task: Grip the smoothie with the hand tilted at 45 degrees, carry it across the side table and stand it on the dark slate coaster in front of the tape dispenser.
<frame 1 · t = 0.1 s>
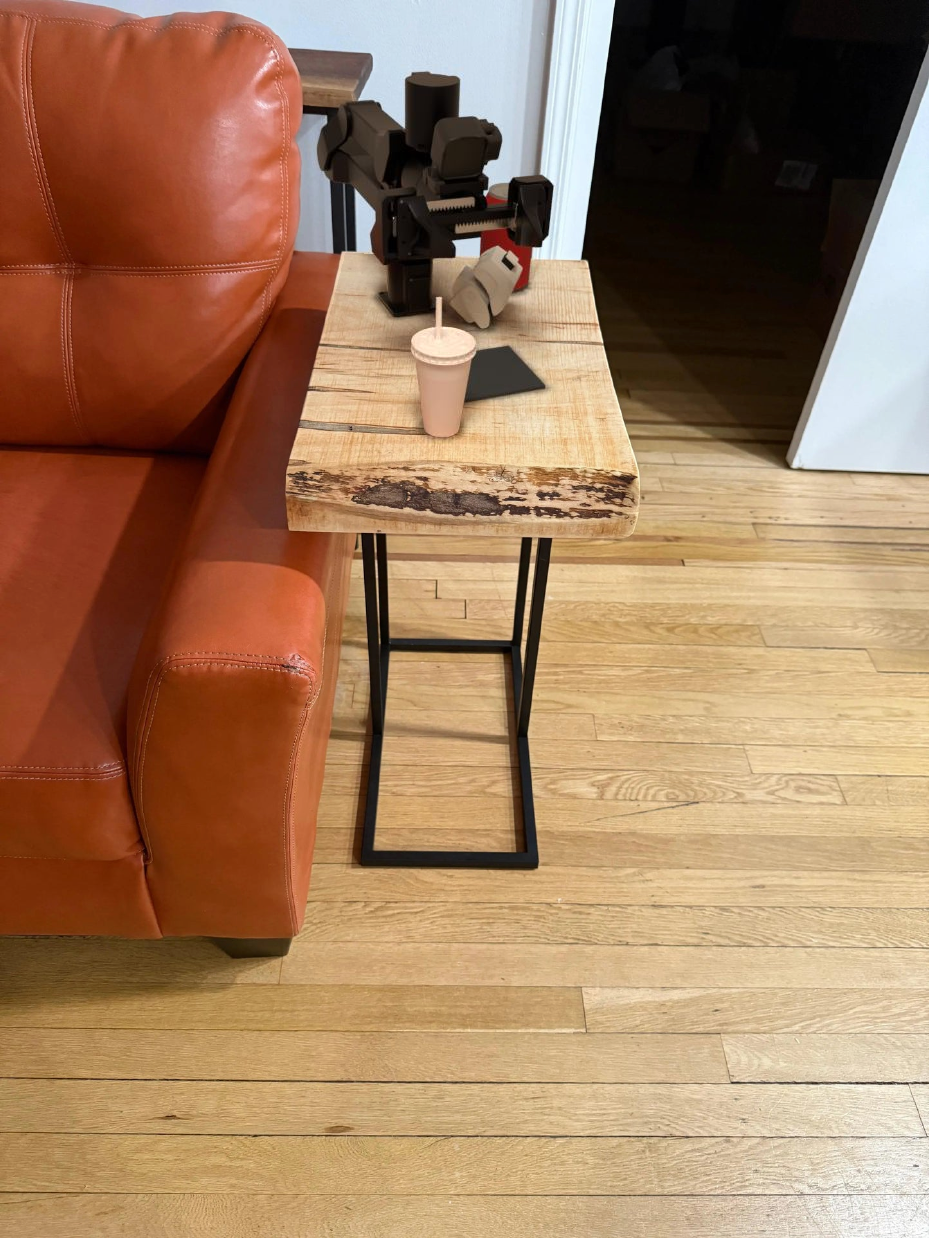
hand: (498, 247, 89), 17 cm above the table, tool horizontal, fingers open, 9 cm apart
beverage can: (503, 285, 123), on the table
smoothie: (441, 429, 96), on the table
coaster: (486, 374, 104), on the table
tape dispenser: (483, 320, 115), on the table
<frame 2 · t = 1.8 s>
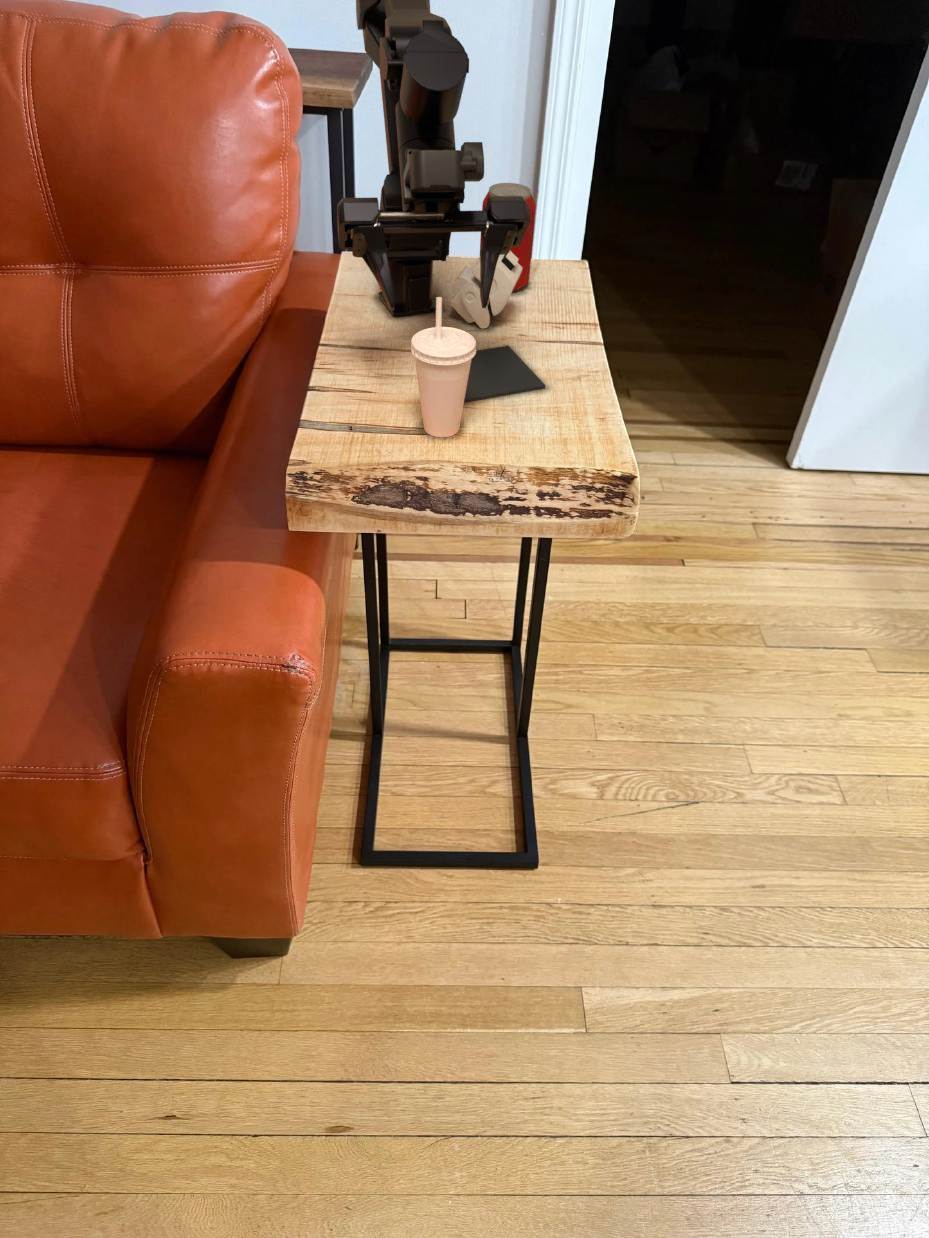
hand: (438, 307, 91), 11 cm above the table, tool tilted 45°, fingers open, 9 cm apart
nothing on the table moved.
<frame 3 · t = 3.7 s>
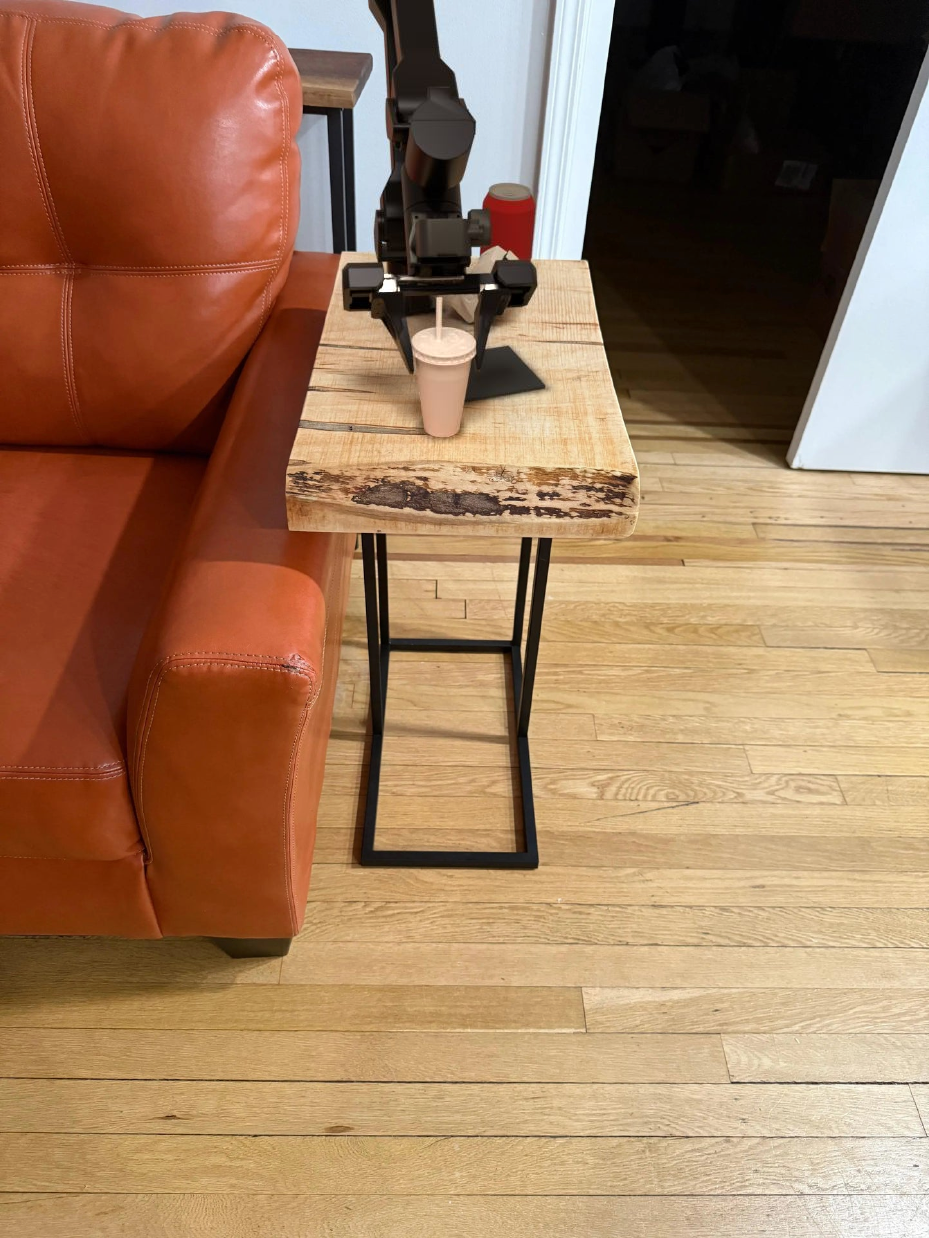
hand: (444, 372, 90), 7 cm above the table, tool tilted 45°, fingers closed on smoothie, 6 cm apart
smoothie: (441, 429, 96), on the table, touching gripper
everything else where it was.
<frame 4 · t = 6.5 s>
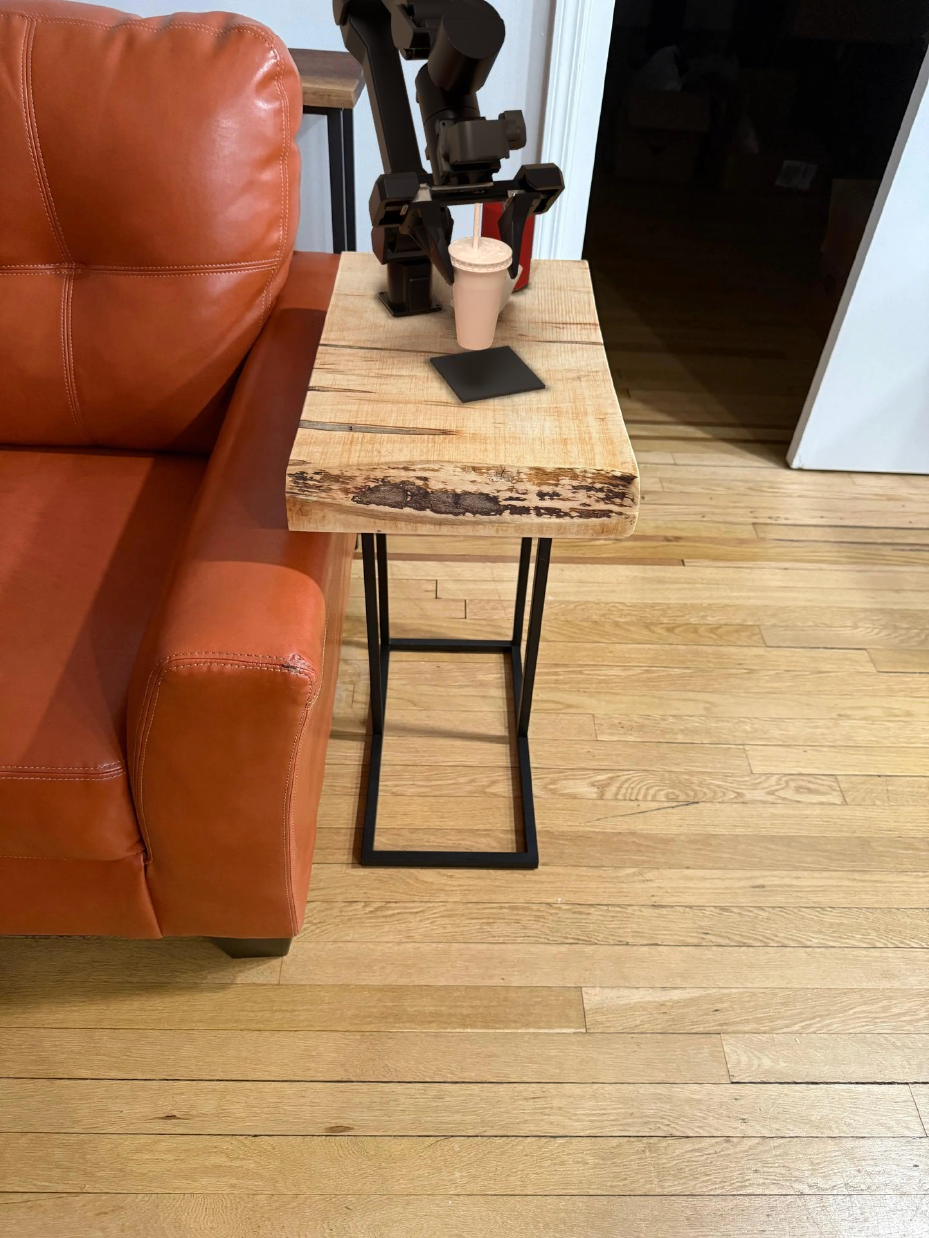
hand: (483, 281, 90), 14 cm above the table, tool tilted 45°, fingers closed on smoothie, 6 cm apart
smoothie: (474, 343, 96), point 6 cm above the table, touching gripper
everything else where it was.
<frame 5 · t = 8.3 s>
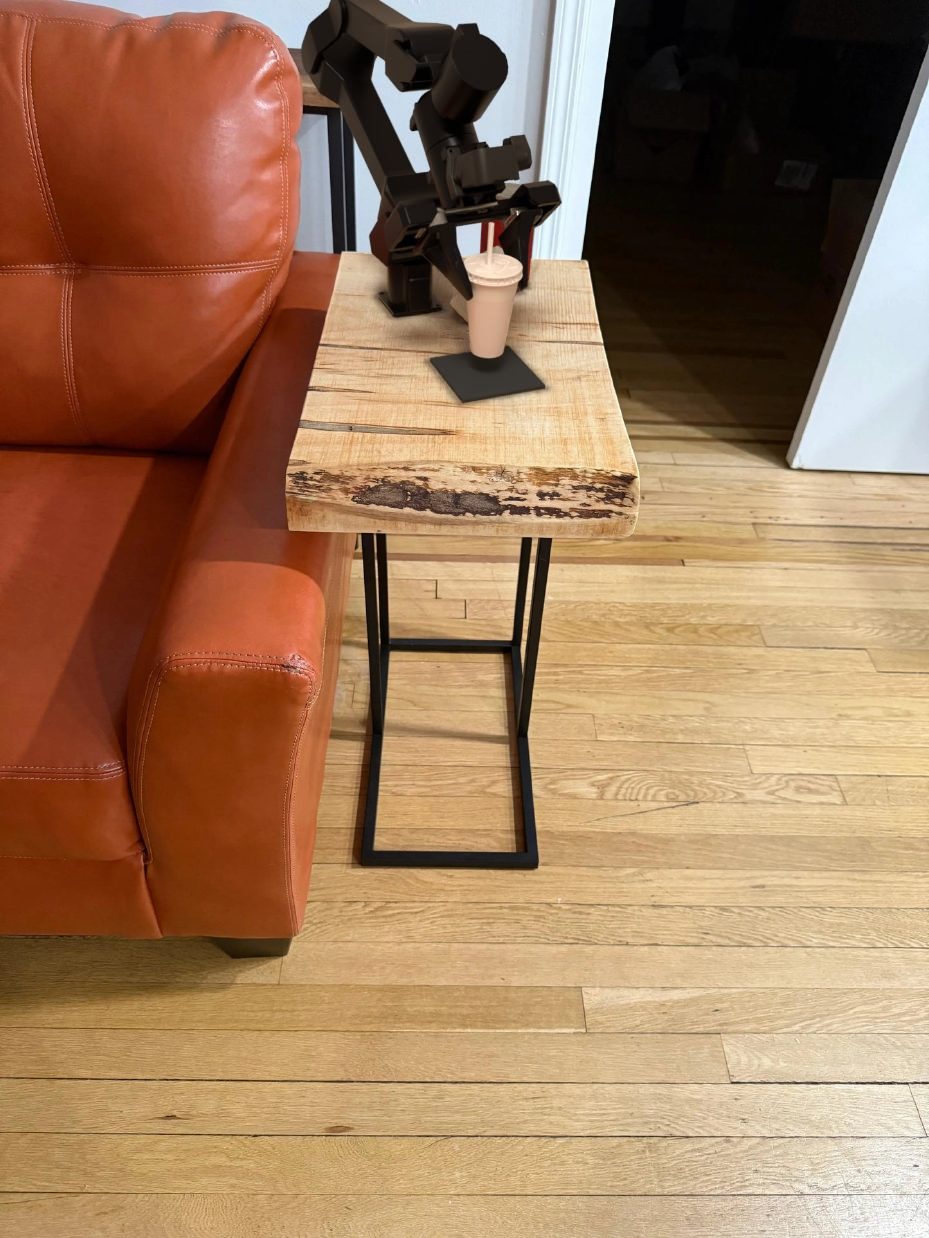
hand: (497, 294, 97), 10 cm above the table, tool tilted 45°, fingers closed on smoothie, 6 cm apart
smoothie: (486, 351, 103), point 3 cm above the table, touching gripper
everything else where it was.
when the fingers open (8 cm above the table, at t = 9.6 s): smoothie stays where it is, resting on coaster.
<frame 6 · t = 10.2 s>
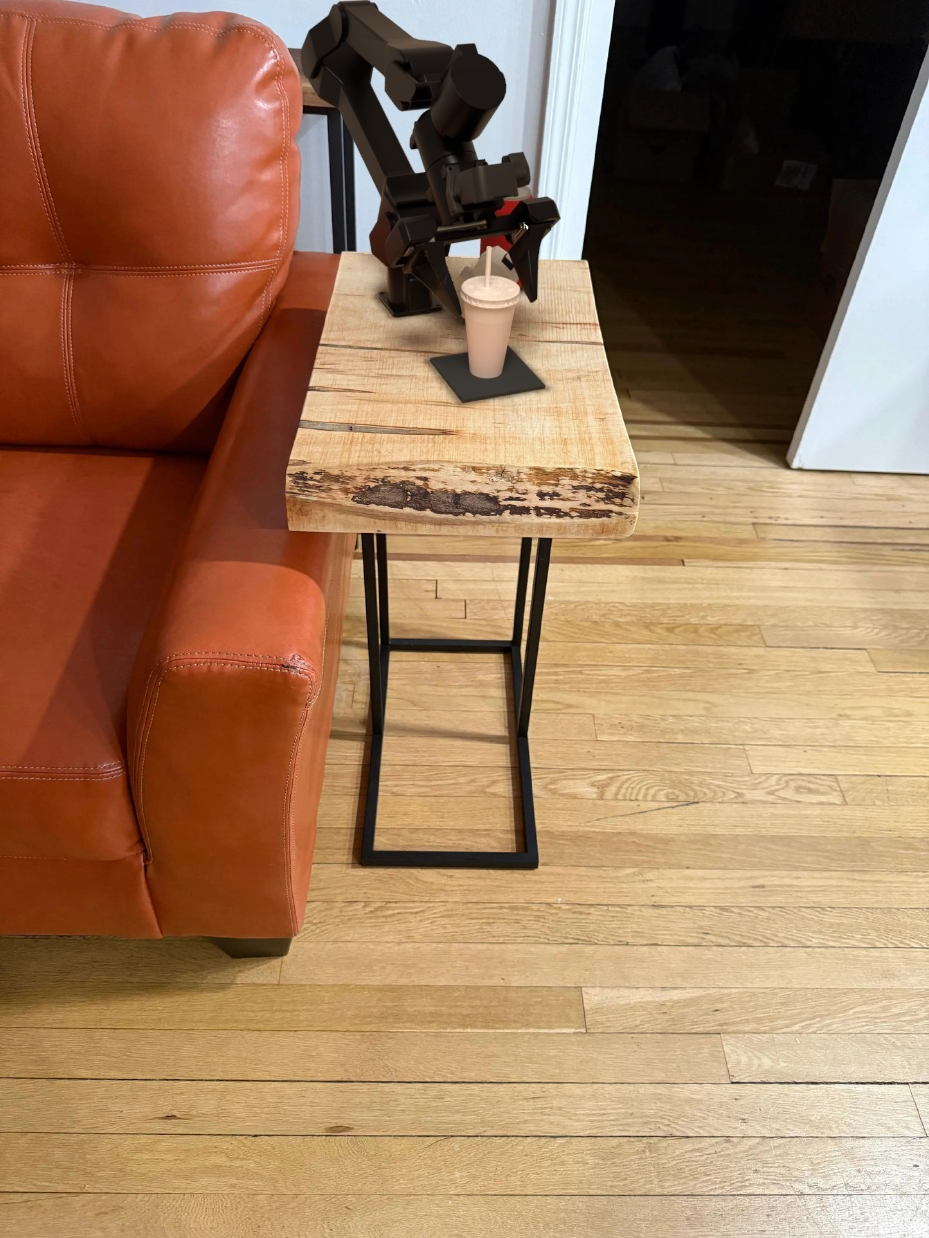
hand: (497, 308, 98), 8 cm above the table, tool tilted 45°, fingers open, 9 cm apart
smoothie: (485, 371, 104), resting on coaster
everything else where it was.
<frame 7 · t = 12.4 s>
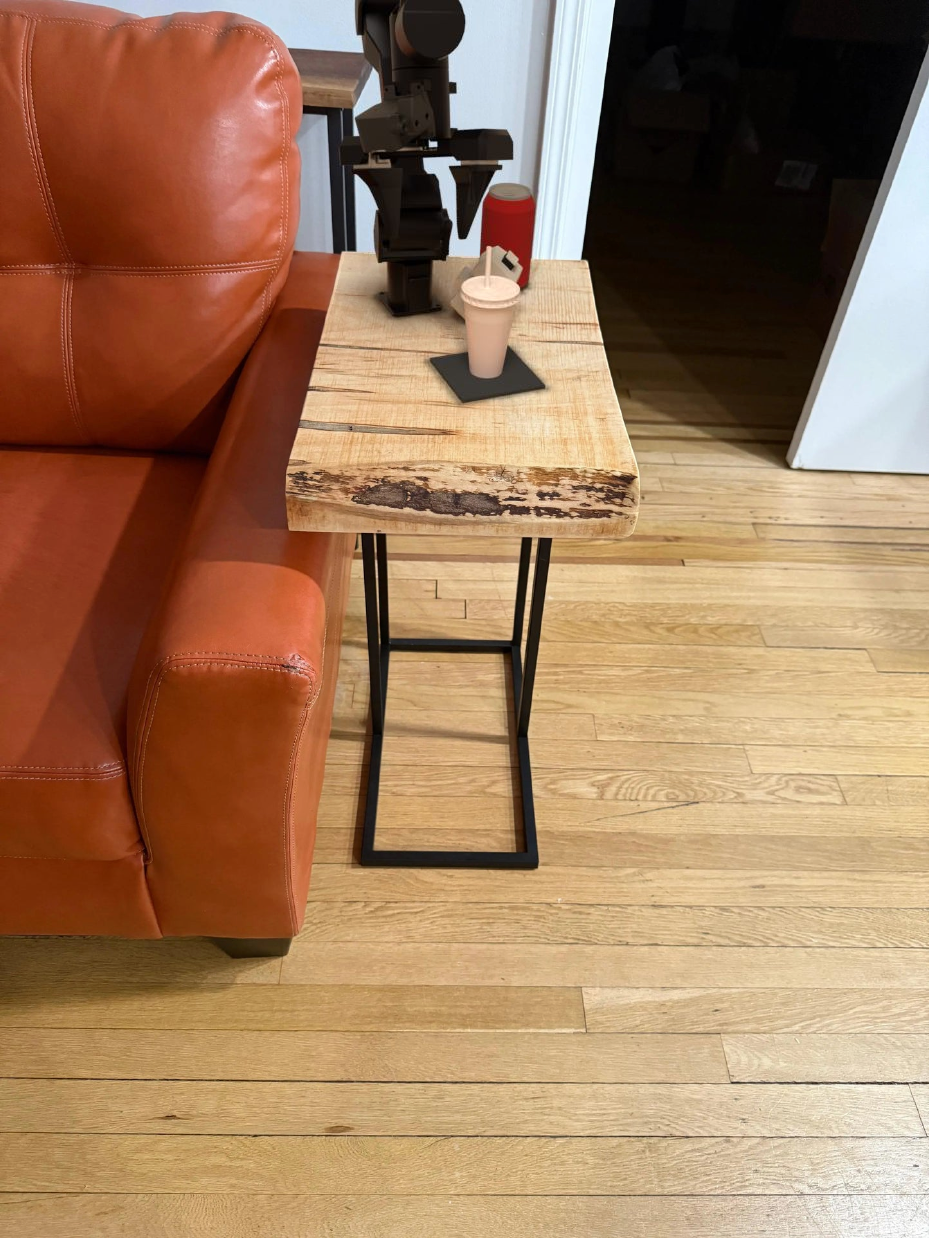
hand: (427, 238, 99), 13 cm above the table, tool tilted 20°, fingers open, 9 cm apart
nothing on the table moved.
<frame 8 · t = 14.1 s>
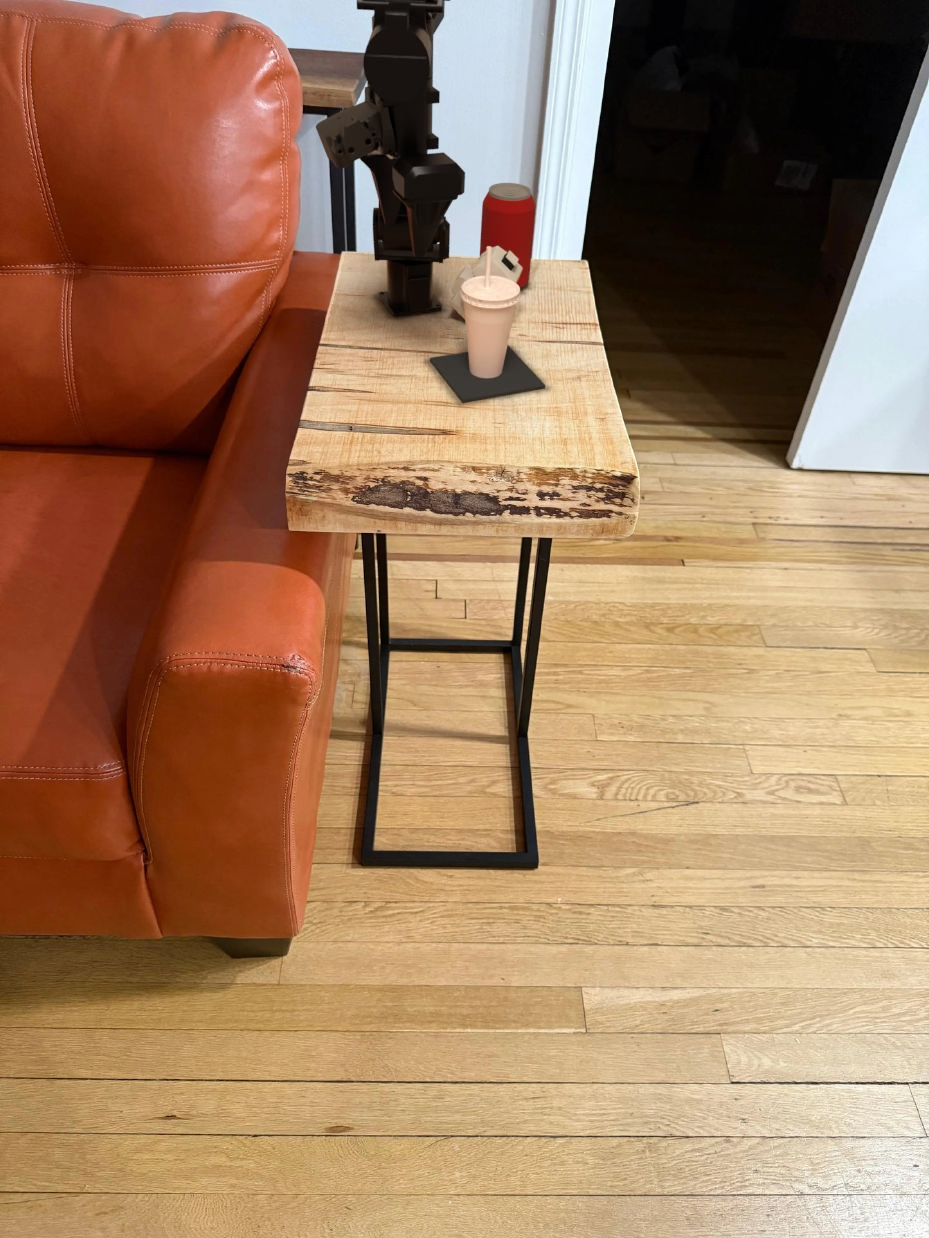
hand: (404, 239, 99), 13 cm above the table, tool pointing down, fingers open, 9 cm apart
nothing on the table moved.
at the end: smoothie inside the target area on the table beside the tape dispenser (0.9 cm from its centre), resting on coaster; smoothie tilted 0°; the gripper is holding nothing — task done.
